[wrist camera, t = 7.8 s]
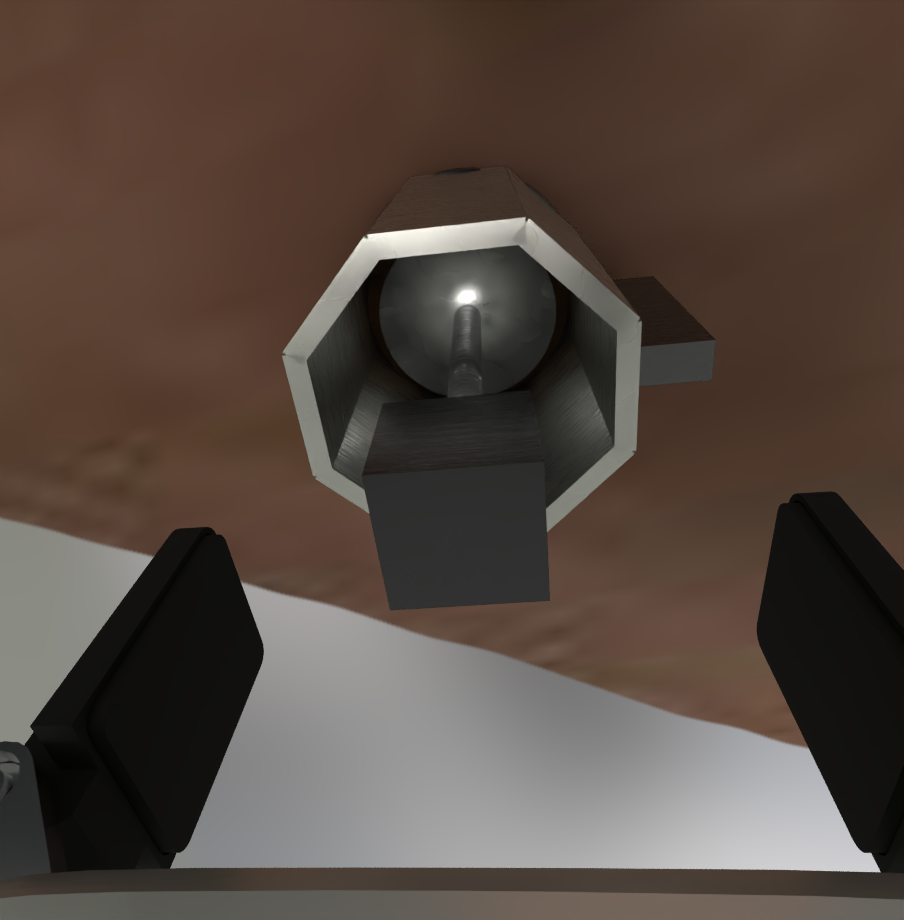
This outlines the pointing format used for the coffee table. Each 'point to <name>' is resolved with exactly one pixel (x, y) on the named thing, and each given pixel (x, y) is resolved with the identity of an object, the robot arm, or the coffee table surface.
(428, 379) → the plunger
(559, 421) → the press carafe
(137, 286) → the coffee table surface
